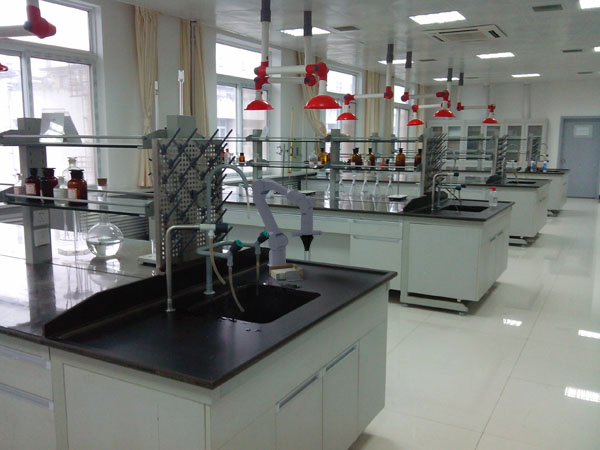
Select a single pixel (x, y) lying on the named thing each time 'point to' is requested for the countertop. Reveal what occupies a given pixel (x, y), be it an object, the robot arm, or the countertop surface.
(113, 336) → the countertop surface
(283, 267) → the brown wooden tray
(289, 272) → the bookend
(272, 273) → the cream rectangular block
